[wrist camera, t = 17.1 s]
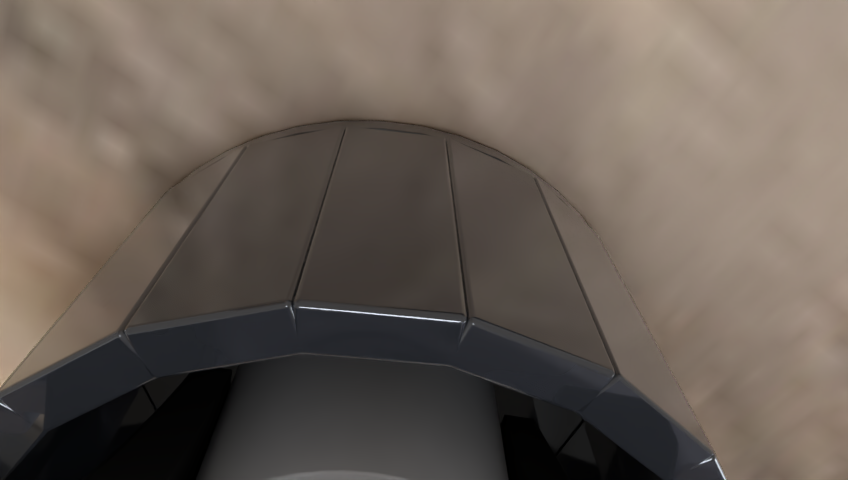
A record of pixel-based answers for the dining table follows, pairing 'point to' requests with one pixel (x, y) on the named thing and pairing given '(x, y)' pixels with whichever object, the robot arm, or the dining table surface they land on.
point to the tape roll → (355, 423)
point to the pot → (360, 301)
